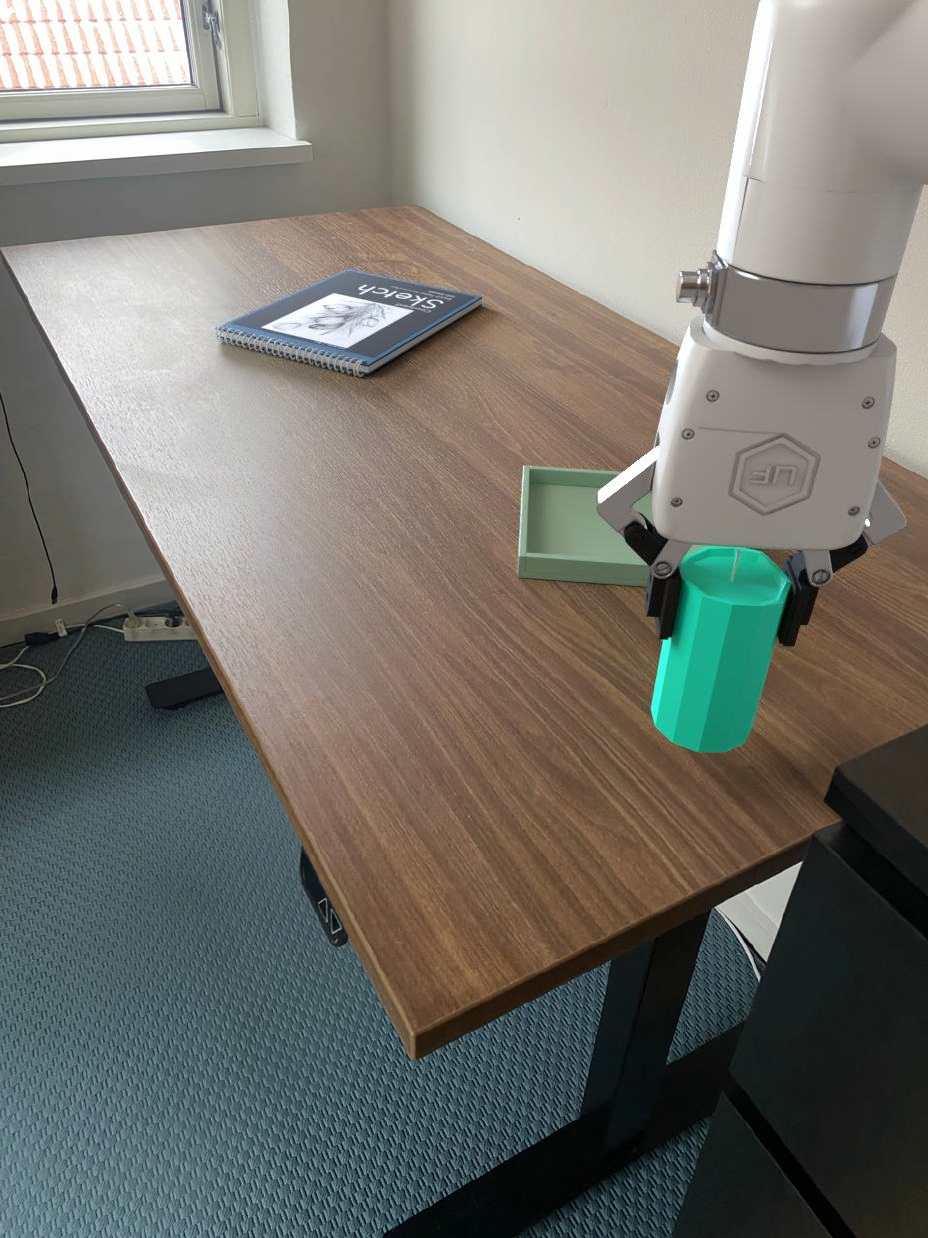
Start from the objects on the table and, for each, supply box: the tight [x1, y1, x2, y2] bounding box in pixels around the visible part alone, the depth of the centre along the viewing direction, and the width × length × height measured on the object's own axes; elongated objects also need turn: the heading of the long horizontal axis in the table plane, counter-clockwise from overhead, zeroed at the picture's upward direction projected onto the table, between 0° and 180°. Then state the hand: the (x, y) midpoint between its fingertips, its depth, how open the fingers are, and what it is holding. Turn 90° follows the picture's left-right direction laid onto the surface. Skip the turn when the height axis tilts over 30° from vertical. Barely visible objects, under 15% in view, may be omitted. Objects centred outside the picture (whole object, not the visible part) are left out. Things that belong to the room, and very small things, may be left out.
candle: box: [650, 546, 791, 753], centre depth 52 cm, size 6×6×12 cm
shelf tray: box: [516, 465, 706, 588], centre depth 79 cm, size 17×15×2 cm
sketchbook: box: [215, 268, 483, 378], centre depth 118 cm, size 22×30×2 cm
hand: (722, 625), depth 51 cm, fingers closed on candle, 5 cm apart
